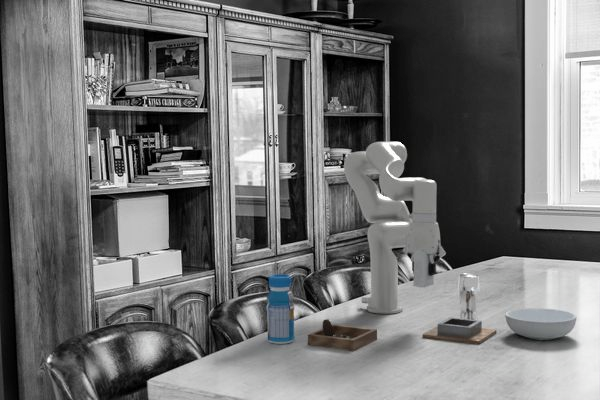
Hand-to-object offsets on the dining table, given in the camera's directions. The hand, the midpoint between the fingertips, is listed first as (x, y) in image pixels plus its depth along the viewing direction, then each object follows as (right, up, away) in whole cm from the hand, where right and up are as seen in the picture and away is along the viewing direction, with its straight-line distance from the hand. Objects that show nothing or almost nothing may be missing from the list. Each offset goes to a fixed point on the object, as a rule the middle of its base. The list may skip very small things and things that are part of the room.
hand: (423, 273), depth 265 cm
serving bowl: (+33, -18, -14) cm, 41 cm away
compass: (-29, -19, -16) cm, 38 cm away
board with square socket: (+9, -18, -12) cm, 23 cm away
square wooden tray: (-27, -19, -18) cm, 37 cm away
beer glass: (+16, -16, +10) cm, 25 cm away
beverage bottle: (-46, -19, -16) cm, 52 cm away
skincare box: (0, -4, 0) cm, 4 cm away
